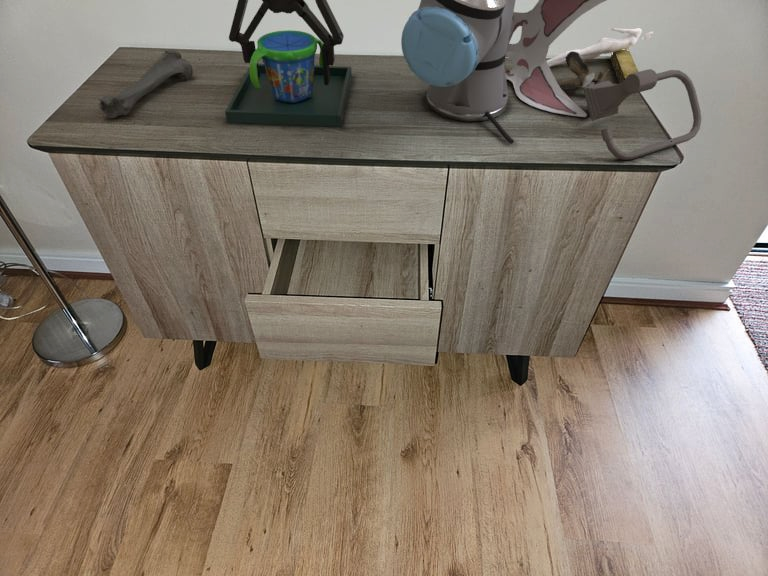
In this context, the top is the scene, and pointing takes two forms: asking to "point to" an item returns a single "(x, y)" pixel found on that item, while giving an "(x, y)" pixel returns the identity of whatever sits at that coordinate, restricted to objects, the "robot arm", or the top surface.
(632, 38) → the figurine
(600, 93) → the toilet paper hanger
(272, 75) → the sippy cup
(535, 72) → the mask
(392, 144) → the top surface
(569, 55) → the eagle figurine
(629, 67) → the decorative block
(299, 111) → the tray
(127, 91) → the bone
